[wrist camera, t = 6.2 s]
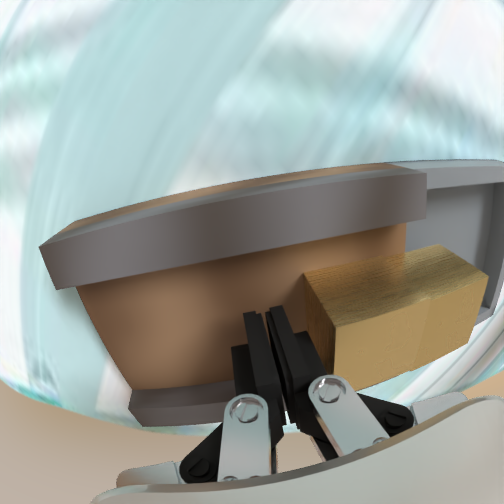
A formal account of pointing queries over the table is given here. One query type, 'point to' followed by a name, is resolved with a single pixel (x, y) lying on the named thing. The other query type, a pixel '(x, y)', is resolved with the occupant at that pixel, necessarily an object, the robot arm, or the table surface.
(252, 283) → the slot block
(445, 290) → the tan cube
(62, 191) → the table surface
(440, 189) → the tray
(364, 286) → the golden wooden cube
